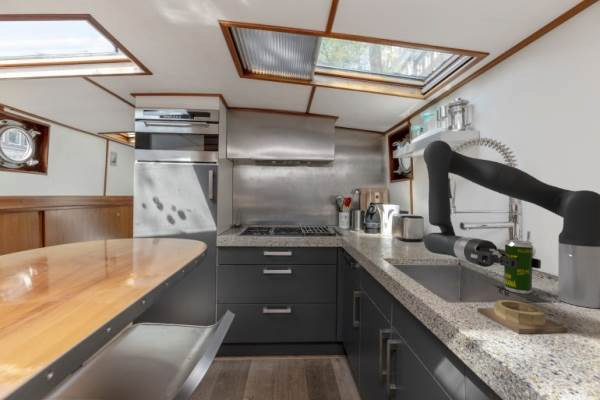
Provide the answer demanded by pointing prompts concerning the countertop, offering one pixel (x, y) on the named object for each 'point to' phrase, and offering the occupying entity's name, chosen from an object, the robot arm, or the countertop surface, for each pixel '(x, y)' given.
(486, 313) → the socket board
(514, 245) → the beer can
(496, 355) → the countertop surface
